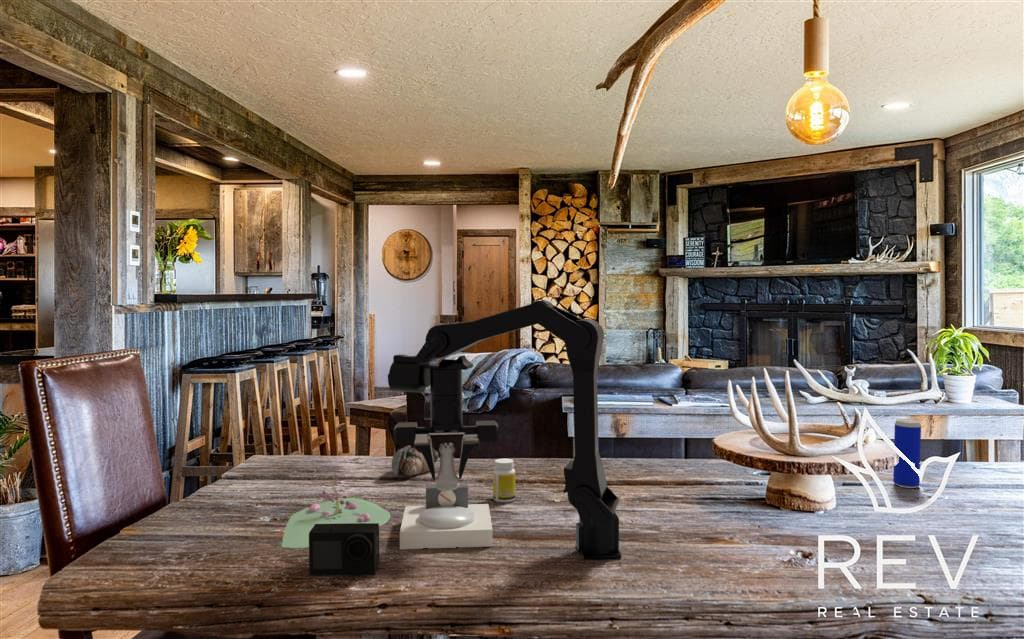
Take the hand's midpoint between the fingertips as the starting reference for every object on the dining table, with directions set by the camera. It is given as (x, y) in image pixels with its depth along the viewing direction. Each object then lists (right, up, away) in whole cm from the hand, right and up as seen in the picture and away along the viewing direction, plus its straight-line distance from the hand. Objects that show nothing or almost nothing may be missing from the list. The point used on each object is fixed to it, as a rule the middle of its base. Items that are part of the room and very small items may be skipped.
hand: (447, 478), depth 123 cm
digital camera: (-15, -12, -15) cm, 24 cm away
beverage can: (+102, -9, +31) cm, 107 cm away
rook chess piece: (0, -2, 0) cm, 2 cm away
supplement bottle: (+10, -10, +22) cm, 26 cm away
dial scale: (0, -10, +2) cm, 10 cm away
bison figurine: (-12, -9, +41) cm, 44 cm away
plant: (-23, -11, +7) cm, 26 cm away
